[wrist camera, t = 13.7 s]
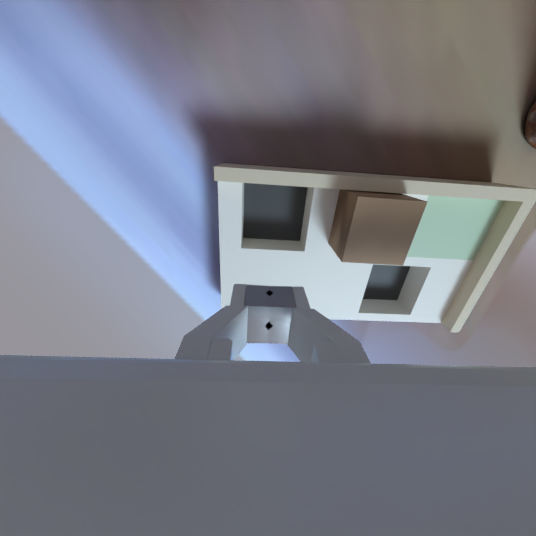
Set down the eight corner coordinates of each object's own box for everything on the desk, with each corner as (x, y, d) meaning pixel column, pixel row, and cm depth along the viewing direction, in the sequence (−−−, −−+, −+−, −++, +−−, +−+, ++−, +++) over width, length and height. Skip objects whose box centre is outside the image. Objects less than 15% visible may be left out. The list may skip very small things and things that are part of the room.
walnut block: (340, 187, 19) (358, 196, 16) (397, 192, 20) (427, 201, 16) (328, 243, 22) (341, 262, 18) (379, 246, 22) (402, 265, 18)
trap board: (222, 162, 21) (213, 166, 17) (492, 182, 22) (542, 189, 18) (225, 299, 28) (219, 324, 24) (431, 307, 29) (458, 332, 25)
